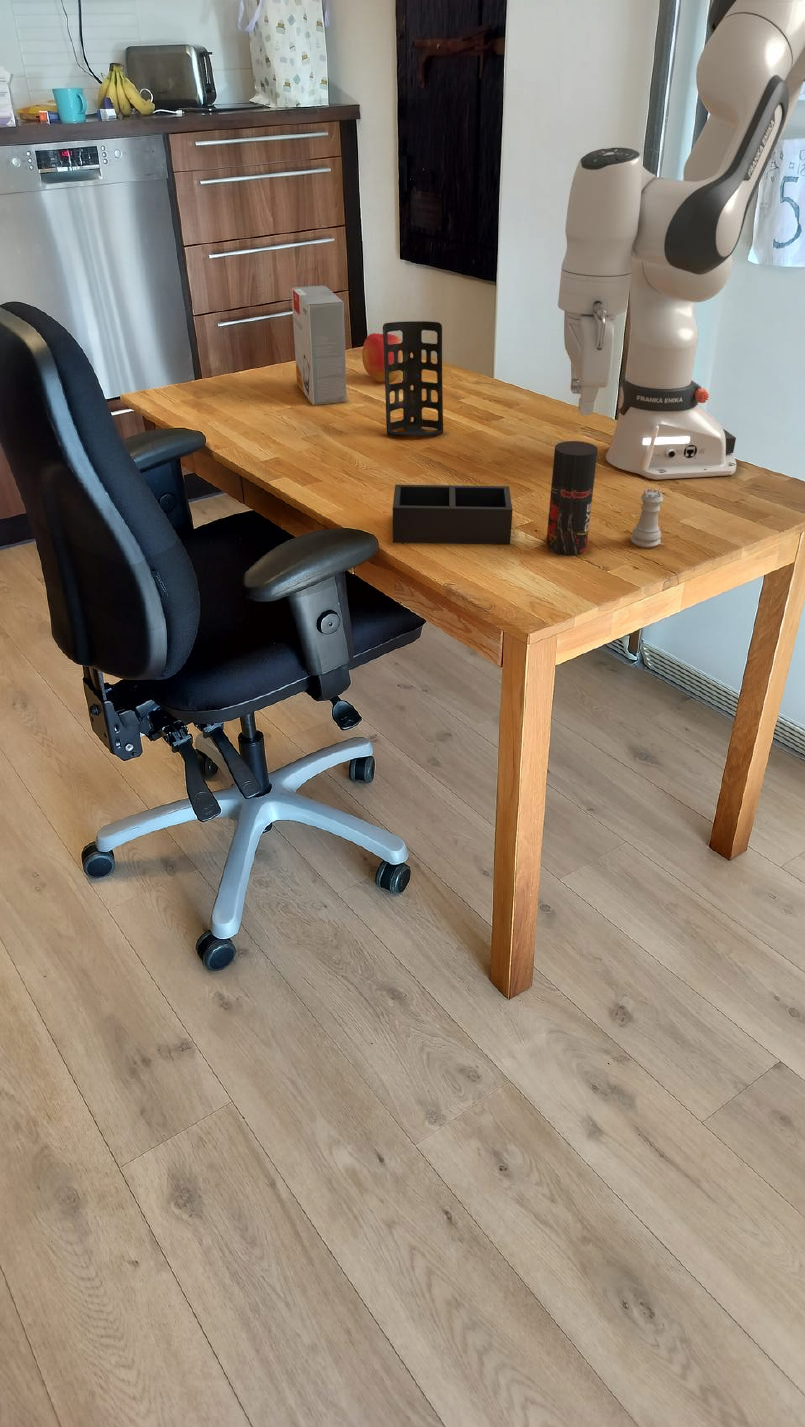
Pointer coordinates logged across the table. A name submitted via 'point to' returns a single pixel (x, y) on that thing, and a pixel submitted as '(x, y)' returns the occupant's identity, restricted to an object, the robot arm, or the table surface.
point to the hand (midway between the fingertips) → (581, 402)
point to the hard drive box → (319, 344)
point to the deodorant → (571, 497)
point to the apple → (379, 356)
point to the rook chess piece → (648, 521)
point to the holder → (413, 379)
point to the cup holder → (452, 514)
